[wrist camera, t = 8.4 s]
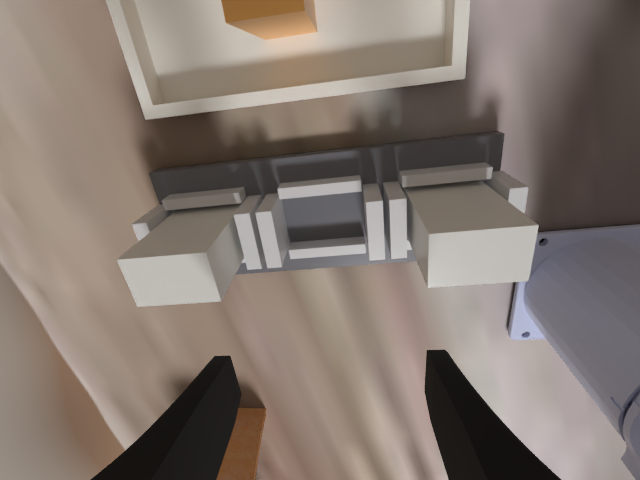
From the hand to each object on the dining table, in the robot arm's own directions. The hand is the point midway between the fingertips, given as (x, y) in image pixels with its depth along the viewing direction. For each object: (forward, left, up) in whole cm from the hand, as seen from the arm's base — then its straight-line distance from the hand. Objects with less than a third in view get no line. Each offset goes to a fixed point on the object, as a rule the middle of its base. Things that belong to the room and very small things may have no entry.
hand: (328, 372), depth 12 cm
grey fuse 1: (+7, -3, -9) cm, 12 cm away
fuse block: (0, -3, -10) cm, 10 cm away
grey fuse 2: (-6, -3, -9) cm, 11 cm away
